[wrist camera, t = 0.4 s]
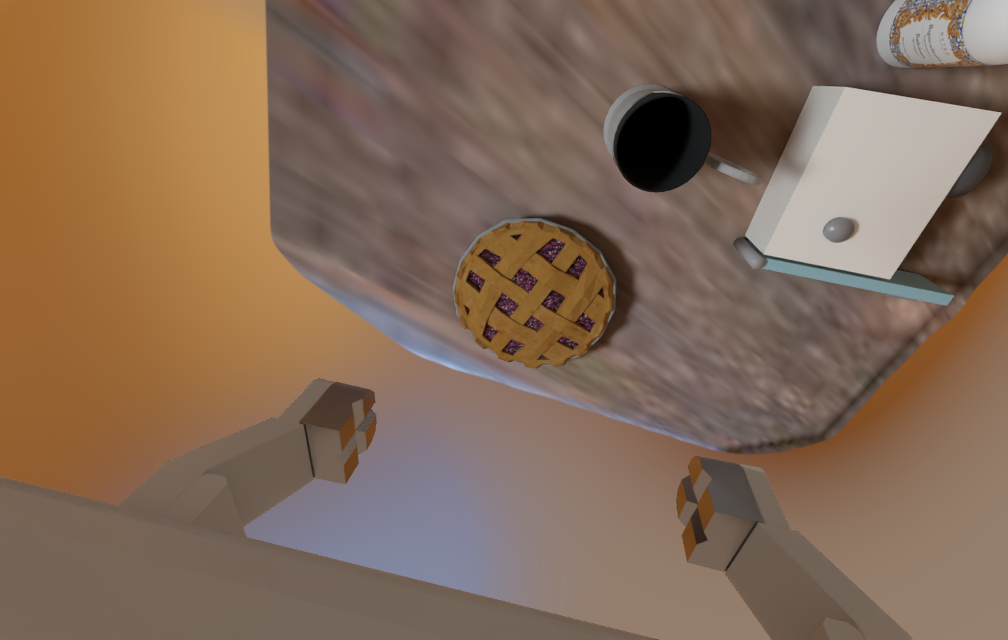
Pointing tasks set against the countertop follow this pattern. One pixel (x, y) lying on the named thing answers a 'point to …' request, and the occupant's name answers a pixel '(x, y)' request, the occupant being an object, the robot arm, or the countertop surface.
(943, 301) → the side door
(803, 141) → the knobbed cream box
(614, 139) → the grey mug
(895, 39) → the bath foam
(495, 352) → the pie
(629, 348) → the countertop surface
